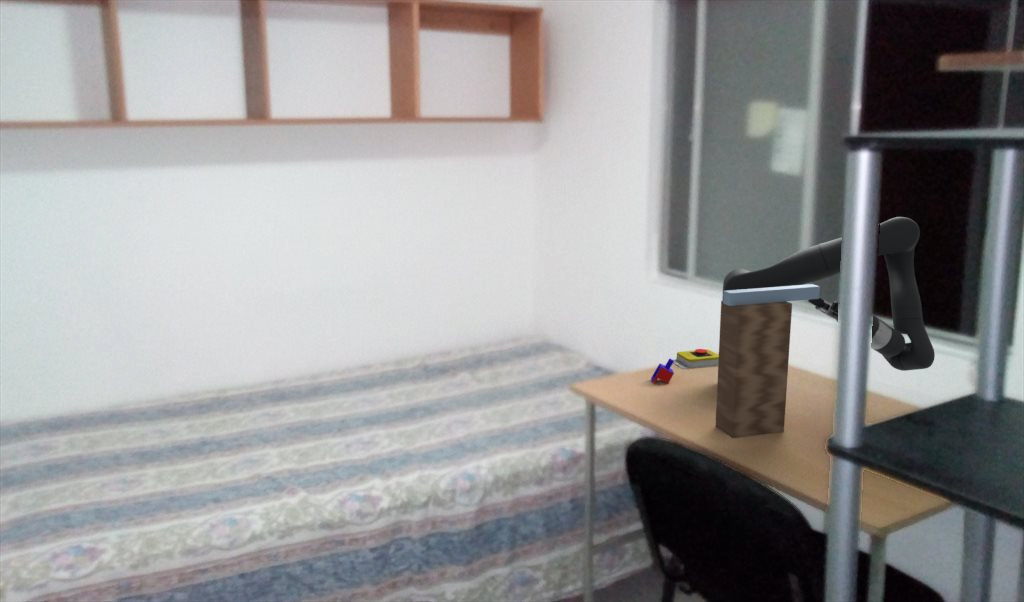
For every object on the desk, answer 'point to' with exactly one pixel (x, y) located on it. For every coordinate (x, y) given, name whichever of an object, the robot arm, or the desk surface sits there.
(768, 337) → the upright
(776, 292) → the bar
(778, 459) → the desk surface
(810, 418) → the desk surface
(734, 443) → the desk surface
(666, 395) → the desk surface
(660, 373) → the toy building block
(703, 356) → the emergency button
